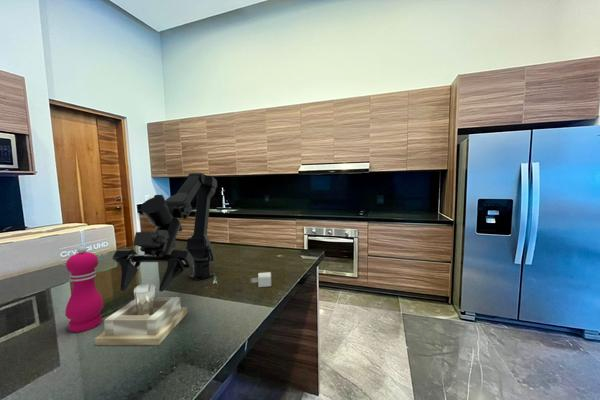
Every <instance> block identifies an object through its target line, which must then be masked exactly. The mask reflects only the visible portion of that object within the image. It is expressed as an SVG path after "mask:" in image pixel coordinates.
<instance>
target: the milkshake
mask: <svg viewBox="0 0 600 400" xmlns="http://www.w3.org/2000/svg"><path fill="white" fill-rule="evenodd" d="M133 295H134V299H135V302H136V309H137V315H153V314H154V301H155V297H156V285H155V284H153V283H150V282H143V283H141V284H139V285H136V286H135V287H134V289H133Z"/></svg>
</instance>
